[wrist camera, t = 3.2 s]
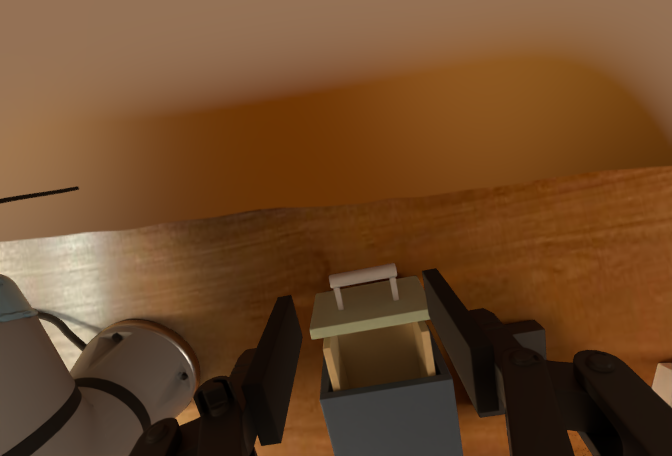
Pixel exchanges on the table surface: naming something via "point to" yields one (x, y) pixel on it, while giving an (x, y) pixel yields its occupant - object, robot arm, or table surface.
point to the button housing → (528, 337)
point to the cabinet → (394, 415)
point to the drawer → (373, 328)
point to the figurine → (663, 382)
